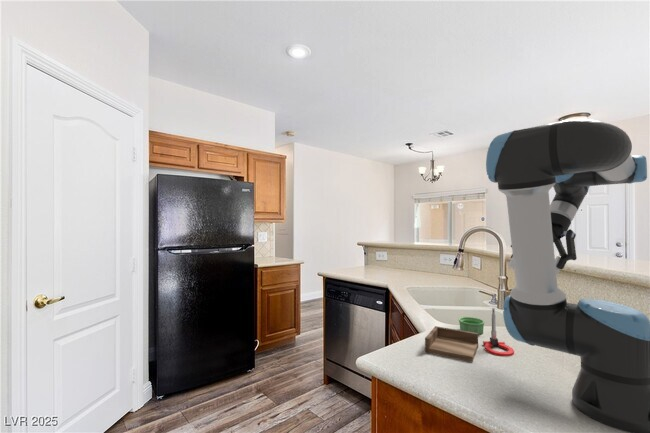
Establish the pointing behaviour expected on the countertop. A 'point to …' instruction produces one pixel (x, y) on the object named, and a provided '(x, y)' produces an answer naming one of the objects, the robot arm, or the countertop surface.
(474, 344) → the wooden tray
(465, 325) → the ramekin
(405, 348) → the countertop surface
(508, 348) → the tow hook
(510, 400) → the countertop surface
